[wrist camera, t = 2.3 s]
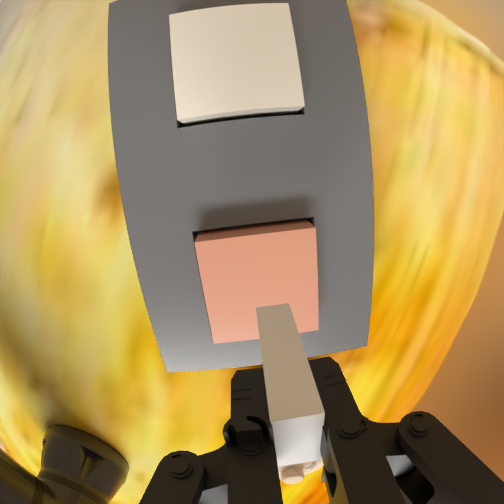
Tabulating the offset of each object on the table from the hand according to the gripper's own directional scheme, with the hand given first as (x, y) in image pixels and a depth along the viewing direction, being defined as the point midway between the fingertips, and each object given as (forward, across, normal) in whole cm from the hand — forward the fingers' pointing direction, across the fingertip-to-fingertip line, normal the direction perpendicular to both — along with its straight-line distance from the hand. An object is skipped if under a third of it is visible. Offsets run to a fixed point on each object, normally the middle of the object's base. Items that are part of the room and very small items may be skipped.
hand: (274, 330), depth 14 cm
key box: (+12, 0, -7) cm, 14 cm away
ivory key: (+9, 0, -14) cm, 16 cm away
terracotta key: (+9, 0, 0) cm, 9 cm away
